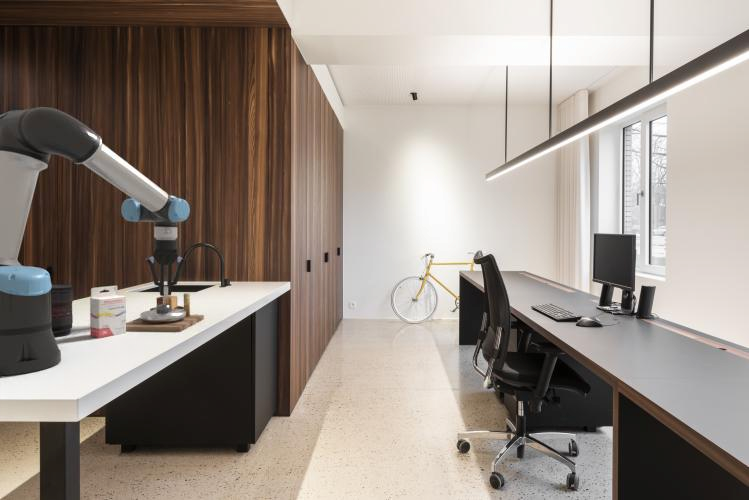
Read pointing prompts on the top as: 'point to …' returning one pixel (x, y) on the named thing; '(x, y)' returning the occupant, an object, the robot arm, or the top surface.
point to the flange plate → (163, 316)
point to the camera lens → (61, 309)
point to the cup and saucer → (160, 302)
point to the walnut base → (167, 326)
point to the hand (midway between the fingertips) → (165, 304)
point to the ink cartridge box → (107, 312)
